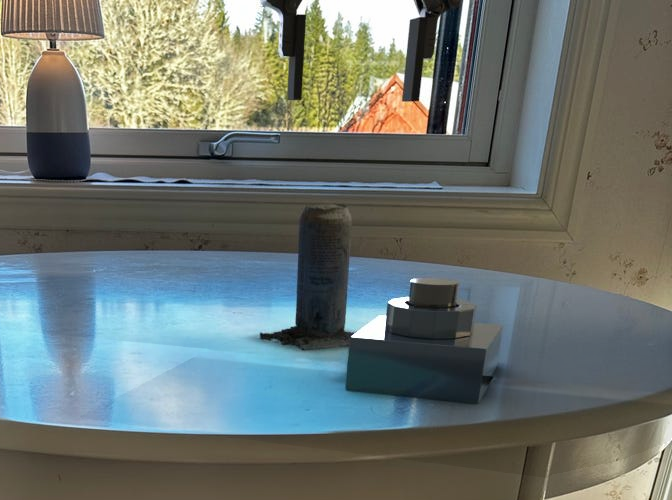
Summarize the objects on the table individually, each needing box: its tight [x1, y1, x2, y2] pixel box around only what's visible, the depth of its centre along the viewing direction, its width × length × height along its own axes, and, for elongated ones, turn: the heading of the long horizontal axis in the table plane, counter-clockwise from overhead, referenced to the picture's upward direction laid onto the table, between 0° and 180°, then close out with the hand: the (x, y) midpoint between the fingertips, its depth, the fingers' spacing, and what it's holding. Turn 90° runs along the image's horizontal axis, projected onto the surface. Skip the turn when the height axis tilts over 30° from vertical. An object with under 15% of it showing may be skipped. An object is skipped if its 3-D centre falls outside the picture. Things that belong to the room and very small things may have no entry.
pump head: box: [408, 277, 460, 309], centre depth 72 cm, size 4×4×2 cm
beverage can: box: [258, 203, 359, 352], centre depth 84 cm, size 9×8×12 cm
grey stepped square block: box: [344, 296, 504, 405], centre depth 74 cm, size 10×10×6 cm
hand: (352, 100), depth 88 cm, fingers open, 10 cm apart
